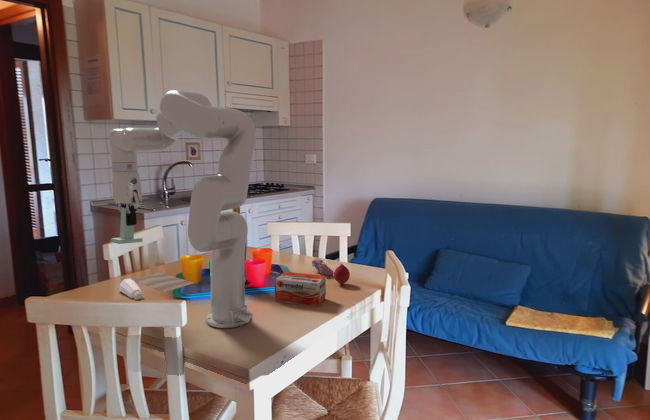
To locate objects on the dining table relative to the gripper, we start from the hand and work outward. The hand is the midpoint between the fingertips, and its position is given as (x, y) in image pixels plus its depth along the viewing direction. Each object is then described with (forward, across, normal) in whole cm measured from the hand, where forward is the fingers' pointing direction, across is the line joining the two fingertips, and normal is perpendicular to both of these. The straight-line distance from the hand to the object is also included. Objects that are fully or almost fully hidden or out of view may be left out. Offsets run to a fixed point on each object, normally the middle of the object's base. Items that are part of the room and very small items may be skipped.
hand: (128, 223), depth 146 cm
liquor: (+24, -19, -29) cm, 42 cm away
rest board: (+24, +1, -12) cm, 27 cm away
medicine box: (+25, -47, -31) cm, 62 cm away
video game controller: (+25, -36, -59) cm, 73 cm away
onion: (+25, -49, -52) cm, 76 cm away
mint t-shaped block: (+6, 0, +1) cm, 6 cm away
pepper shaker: (+21, +2, +1) cm, 21 cm away
